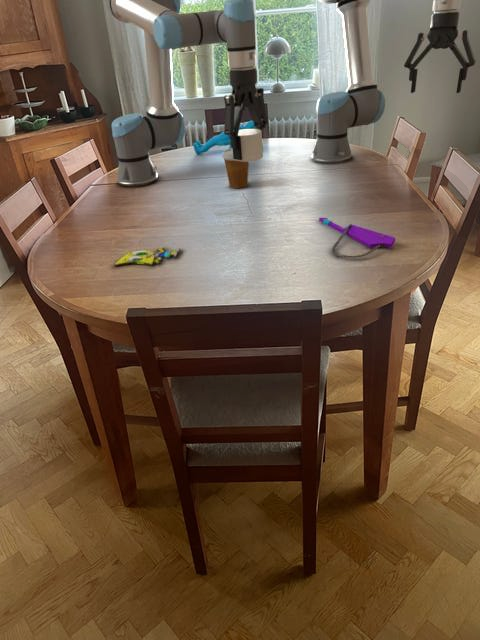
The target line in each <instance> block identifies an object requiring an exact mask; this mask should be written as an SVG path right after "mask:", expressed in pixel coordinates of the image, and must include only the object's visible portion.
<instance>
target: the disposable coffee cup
mask: <svg viewBox="0 0 480 640" xmlns="http://www.w3.org/2000/svg"><path fill="white" fill-rule="evenodd" d="M222 159H223V162H224V166H225V171H226V175H227V180H228V184H229V188H232V189H243V188H245V187H248V184H249V183H248V181H249V162H250V161H249V162H241V161H236V160H235V159H233V148H230V149H229V148H227V149H225V150H223V151H222Z"/></svg>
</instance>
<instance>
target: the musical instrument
mask: <svg viewBox="0 0 480 640" xmlns="http://www.w3.org/2000/svg"><path fill="white" fill-rule="evenodd" d="M318 220H319V222H321V223H323V224H324V225H326V226H328V227H330V228H333V229H334V230H336V231H338V232H340V233H342V234H340V237H339V238H338V239H337V241H336V242H335V243H334V245H333V246H332V249H331V250H332V254H333V255H334V256H336V257H343V258H348V259H349V258H351V259H355V258H356V259H357V258H361V257H362V258H363V257H365V256H368V255H370V254H371V253H373V252H375V251H376V250H377V249H379V248H380V247H382V248H393V246H394V244H395V242H396V237H395V236H391V235H388V234H386V233H381V232H378V231H376V230H372V229H368V228H365V227H362V226H358V225H355V224H352V223H350V224H349V225H347V226H345V227H343V226H342V225H339V224H337V223H334V222H333V221H332V220H330V219H328V217H318ZM345 235H346V236H347V237H349V238H351V239H353V240H354V241H357V242H358V243H361V244H362V245H364V246H366V247H368V248H370V250H369V251H367V252H365V253H362V254H358V255H347V254H346V255H345V254H339V253H337V252H336V248H337V246H338V245H339V243H340V242H341V241H342V239H343V238H344V237H345ZM371 248H372V249H371Z"/></svg>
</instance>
